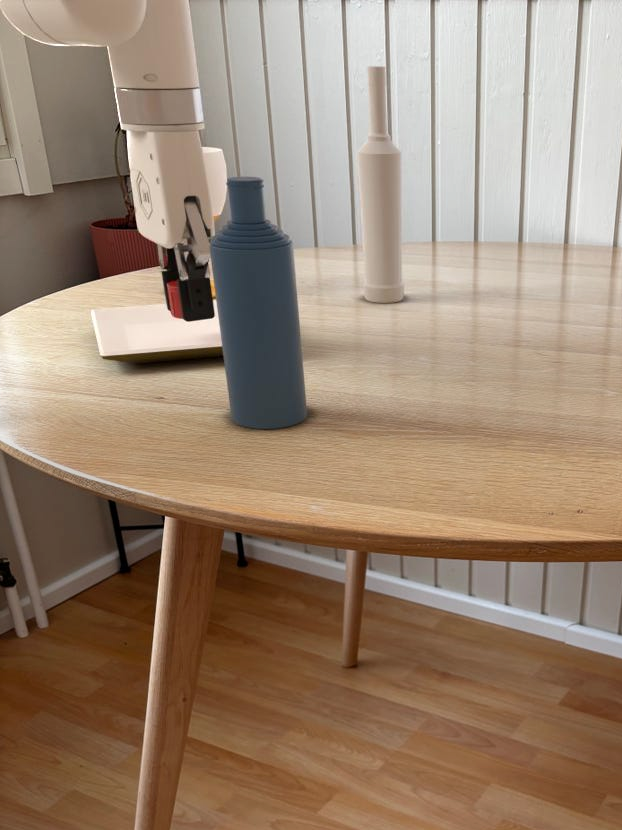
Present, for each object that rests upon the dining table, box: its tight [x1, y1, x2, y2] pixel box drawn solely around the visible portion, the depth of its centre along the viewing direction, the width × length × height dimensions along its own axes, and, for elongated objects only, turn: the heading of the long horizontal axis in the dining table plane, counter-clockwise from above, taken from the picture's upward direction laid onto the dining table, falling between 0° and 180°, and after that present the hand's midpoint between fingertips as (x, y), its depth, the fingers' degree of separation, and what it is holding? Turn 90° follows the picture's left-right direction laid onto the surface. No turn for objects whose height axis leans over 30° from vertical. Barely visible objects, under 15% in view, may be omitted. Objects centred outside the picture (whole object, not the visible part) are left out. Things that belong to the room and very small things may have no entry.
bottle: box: [356, 65, 405, 304], centre depth 111 cm, size 5×5×25 cm
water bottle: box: [209, 176, 308, 430], centre depth 76 cm, size 6×6×18 cm
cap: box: [167, 280, 183, 319], centre depth 96 cm, size 4×4×3 cm
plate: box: [90, 299, 223, 364], centre depth 99 cm, size 19×19×2 cm
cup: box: [202, 146, 228, 299], centre depth 116 cm, size 9×9×16 cm
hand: (191, 312), depth 96 cm, fingers closed on cap, 3 cm apart
